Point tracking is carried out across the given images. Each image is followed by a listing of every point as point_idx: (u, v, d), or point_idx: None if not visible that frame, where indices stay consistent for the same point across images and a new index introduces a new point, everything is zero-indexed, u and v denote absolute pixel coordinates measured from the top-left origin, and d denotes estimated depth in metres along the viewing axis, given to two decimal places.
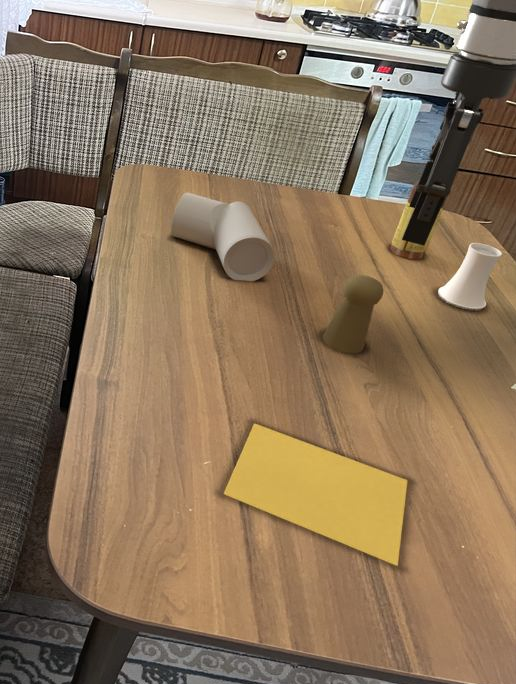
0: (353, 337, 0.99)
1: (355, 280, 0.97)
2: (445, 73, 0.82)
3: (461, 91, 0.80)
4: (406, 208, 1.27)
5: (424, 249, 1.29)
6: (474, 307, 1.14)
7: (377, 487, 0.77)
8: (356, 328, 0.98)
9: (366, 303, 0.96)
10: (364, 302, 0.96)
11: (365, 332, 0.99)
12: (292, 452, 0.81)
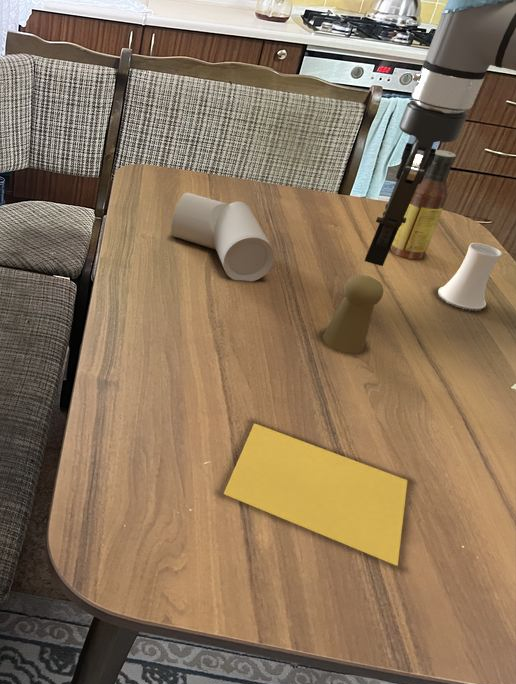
0: (353, 337, 0.99)
1: (355, 280, 0.97)
2: (402, 118, 0.93)
3: (415, 135, 0.91)
4: None
5: (424, 249, 1.29)
6: (474, 307, 1.14)
7: (377, 487, 0.77)
8: (356, 328, 0.98)
9: (366, 303, 0.96)
10: (364, 302, 0.96)
11: (365, 332, 0.99)
12: (292, 452, 0.81)
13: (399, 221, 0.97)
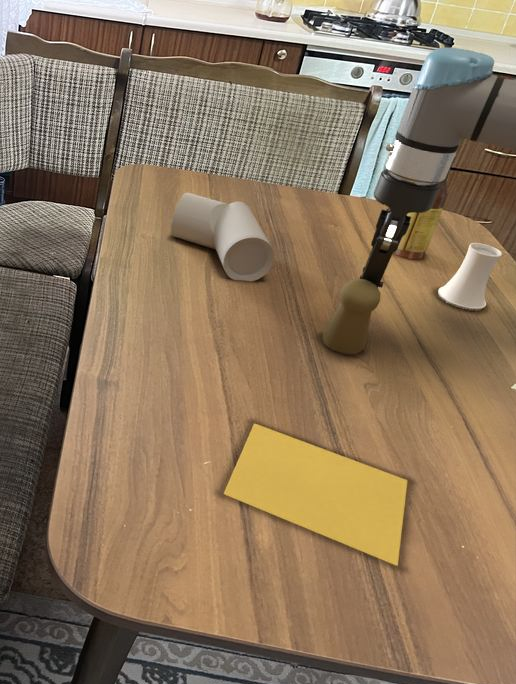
0: (351, 341, 0.98)
1: (350, 290, 0.94)
2: (376, 187, 0.92)
3: (389, 206, 0.90)
4: None
5: (424, 249, 1.29)
6: (474, 307, 1.14)
7: (377, 487, 0.77)
8: (353, 332, 0.97)
9: (362, 313, 0.94)
10: (359, 312, 0.94)
11: (364, 333, 0.98)
12: (292, 452, 0.81)
13: None
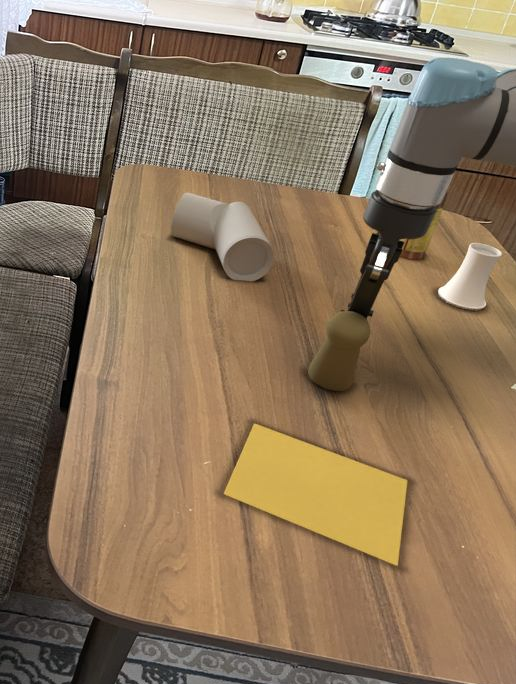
0: (340, 377, 0.90)
1: (337, 324, 0.86)
2: (366, 209, 0.84)
3: (379, 231, 0.82)
4: None
5: (424, 249, 1.29)
6: (474, 307, 1.14)
7: (377, 487, 0.77)
8: (343, 368, 0.89)
9: (352, 349, 0.86)
10: (349, 348, 0.86)
11: (354, 368, 0.90)
12: (292, 452, 0.81)
13: None
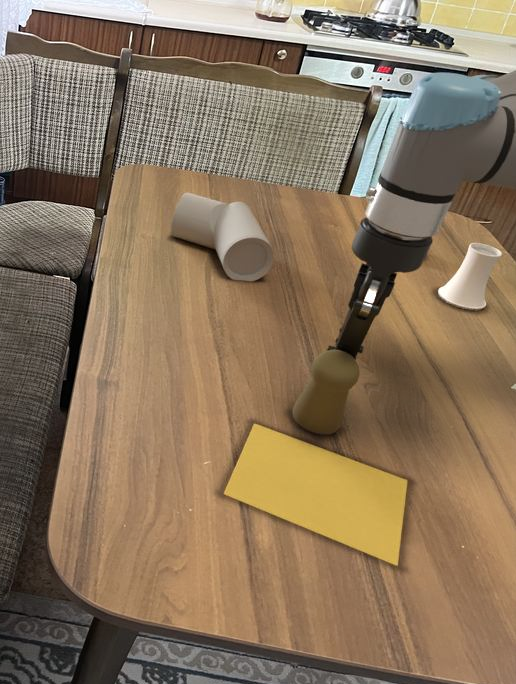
0: (327, 420, 0.82)
1: (323, 365, 0.78)
2: (355, 239, 0.76)
3: (369, 263, 0.74)
4: None
5: None
6: (474, 307, 1.14)
7: (377, 487, 0.77)
8: (330, 412, 0.81)
9: (339, 392, 0.78)
10: (336, 391, 0.78)
11: (342, 411, 0.82)
12: (292, 452, 0.81)
13: None
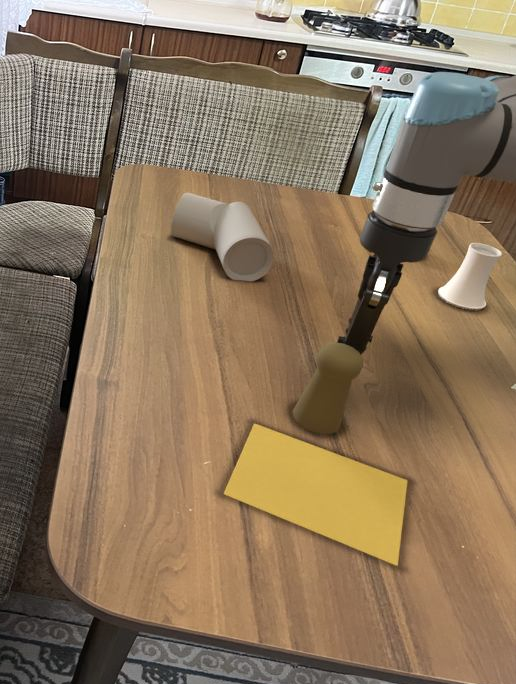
0: (329, 417, 0.83)
1: (330, 351, 0.80)
2: (363, 232, 0.80)
3: (377, 254, 0.78)
4: None
5: None
6: (474, 307, 1.14)
7: (377, 487, 0.77)
8: (332, 406, 0.82)
9: (344, 379, 0.80)
10: (341, 377, 0.80)
11: (343, 409, 0.84)
12: (292, 452, 0.81)
13: (363, 346, 0.83)
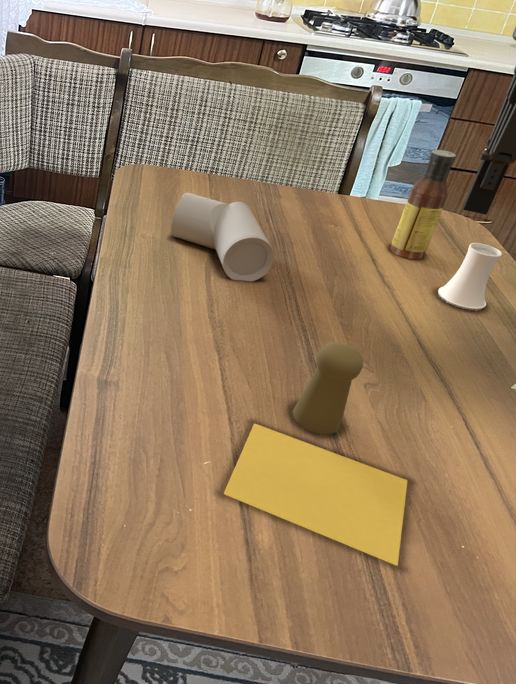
0: (329, 417, 0.83)
1: (330, 351, 0.80)
2: None
3: None
4: (406, 208, 1.27)
5: (424, 249, 1.29)
6: (474, 307, 1.14)
7: (377, 487, 0.77)
8: (332, 406, 0.82)
9: (344, 379, 0.80)
10: (341, 377, 0.80)
11: (343, 409, 0.84)
12: (292, 452, 0.81)
13: (514, 155, 0.79)
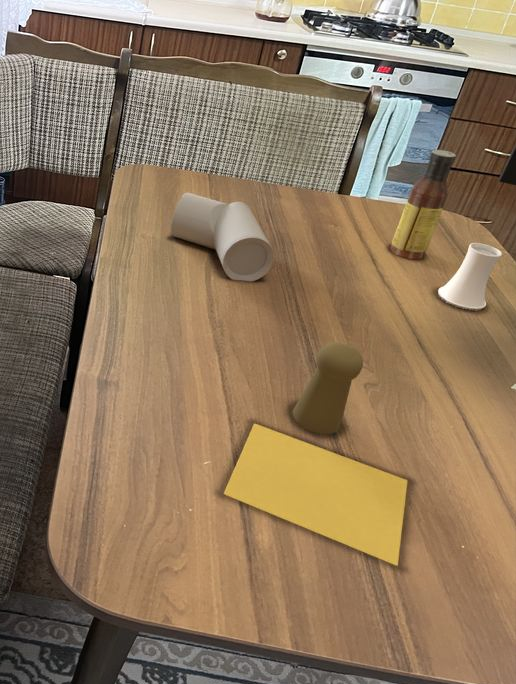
0: (329, 417, 0.83)
1: (330, 351, 0.80)
2: None
3: None
4: (406, 208, 1.27)
5: (424, 249, 1.29)
6: (474, 307, 1.14)
7: (377, 487, 0.77)
8: (332, 406, 0.82)
9: (344, 379, 0.80)
10: (341, 377, 0.80)
11: (343, 409, 0.84)
12: (292, 452, 0.81)
13: None
